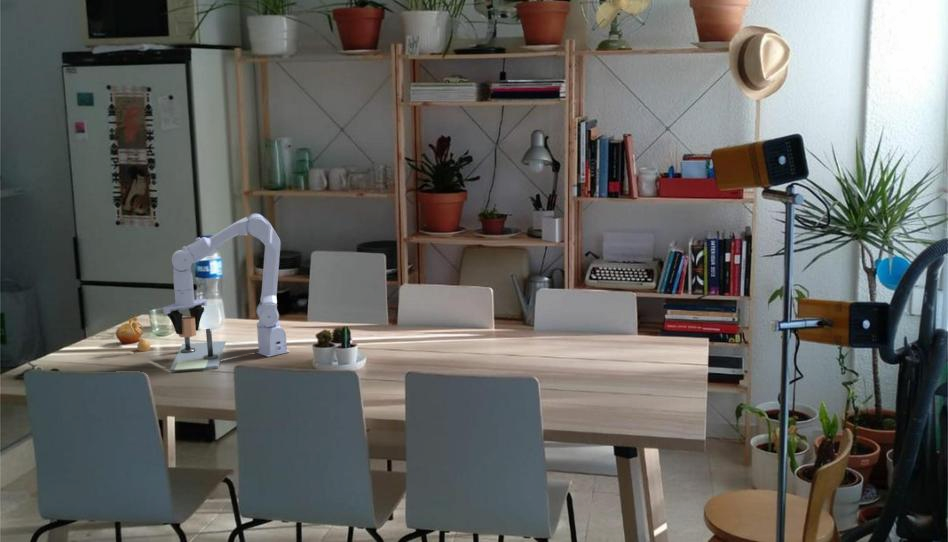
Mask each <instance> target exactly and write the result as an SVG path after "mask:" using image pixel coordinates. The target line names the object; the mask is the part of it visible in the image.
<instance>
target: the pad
mask: <svg viewBox="0 0 948 542" xmlns="http://www.w3.org/2000/svg"><path fill="white" fill-rule="evenodd" d="M207 362H208V359H207V360H192V361H178V363H177V365H176V367H175V369H174V370H184V369H199V368H206V365H207Z"/></svg>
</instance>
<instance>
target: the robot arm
mask: <svg viewBox="0 0 948 542" xmlns="http://www.w3.org/2000/svg"><path fill="white" fill-rule="evenodd" d="M248 233H249V234H250V235H251V236H252V237H254V238H256V239H258V240H259V241H260V242H261V243H263V245H264V256H263V270H262V283H261V284H262V285H261V294H260V302H259V304H258V305H257V307H256V315H257V317H258V321H257V323H256V329H257V347H258V348H257V349H258V350H256V351H255V353H257V354H259V355H263V356H265V357H267V358H268V357H273V356H278V355H281V354H286V353H290V350H289V349H288V344H287V334H286V331H285V330H284V328H282V327H281V322H280V320H279V319H280V314H279V311H278V308H277V307H278V304H277V303H278V300H277V299H278V298H277V294H278V293H277V292H278V283H279V282H278V279H279V278H278V277H279V267H280V253H281V244H282V243H281V239H280V237H279V236H278V234H277V232H276V230H275V229H274V227H273V226H272V224H271V222H270V221H269V220H268V219H267V218H265V216H263V215H262V214H260V213H252V214H249V215H248V216H245V217H242V218H240V219H239V220H237V221H235V222H233V223H232V224H231V225H228V226H227V227H226V228H224V229H222V230H221V231H219V232H217V233H216V234H214V235H213V236H210V237H206V236H203V237H199V236H198V237H197V238H195V241H194V242H192V243H190V244H188V245H187V246H186V245H184V246H182V248H181V249H178V250H175V252H174V253H172V256H171V263H172V266H173V269H172V273H173V276H172V278H173V289H174V301H175V302H174V303H172V304H169V305H166V306H163V307H162V311H163V314H166V316H167V317H168V318H169V320H170V322H171V323H172V324H173V325H172V326H173V328H174V330H175V334H176V335H179V334H182V317H184V316H183V313H181V312H180V311H184V310H188V311H189V314H190V315H189V316H194V317H195V325H196V332H197V331H199V327H200V321H201V319H202V316H203V314H204V312H205V306H208V301H207V300H208V299H206V298H199V299H198V298H197V299H195V293H194V290H195V289H194V277H193V273H192V265H193V264H196V263H198V262H199V261H201V260H203V259H206V258H207V257H209V256H210V255H212V254H214V251H215V248H216V247H218V246H220V245H221V244H223V243H225V242H227V241H229V240H232V239H233V238H235V237H237V236H248ZM203 306H204V307H203Z"/></svg>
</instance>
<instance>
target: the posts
mask: <svg viewBox="0 0 948 542" xmlns="http://www.w3.org/2000/svg"><path fill="white" fill-rule="evenodd" d="M205 333H206V334H205V336H206V342H207V350H208V355H205V356H203V358H204V359H205V360H207V359H208V360H212V359H216V358H218V355H217V354H213V346H212V342H213V337H212V336H213V333H212V328H205ZM183 338H184V344H185V348H184V349H181V352H182V353H191V352H194V351H195V348H191V347H190V343H191V337H183Z"/></svg>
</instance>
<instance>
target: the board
mask: <svg viewBox="0 0 948 542" xmlns="http://www.w3.org/2000/svg"><path fill="white" fill-rule="evenodd" d="M226 342H227V341H226V340H225V341H224V340H223V341H212V346H213V354H217V355H218V358H216V359H212V360H208V362H207V365H206V368H199V369H184V370H174V369H175V367H176V365H177V363H178V361H192V360H205V359H204V358H203V356H205V355H208V350H207V341H206V342H194V343H191V342H190V347H191V348H195V351H194V352H191V353H182V352H181V349H184V348H185V343H182V344H181V346H180V348H179V350H178V352H177V354H176V356H175V358H174V360H173V363H172V365H171V366H170V368H169V372H170V373H171V372H173V373H174V372H185V371H202V370H203V371H204V370H215V369H216V370H217V369H219V366H220V364H221V360H222V359H221V357H222V354H223V351H224V349H225V345H226Z"/></svg>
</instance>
